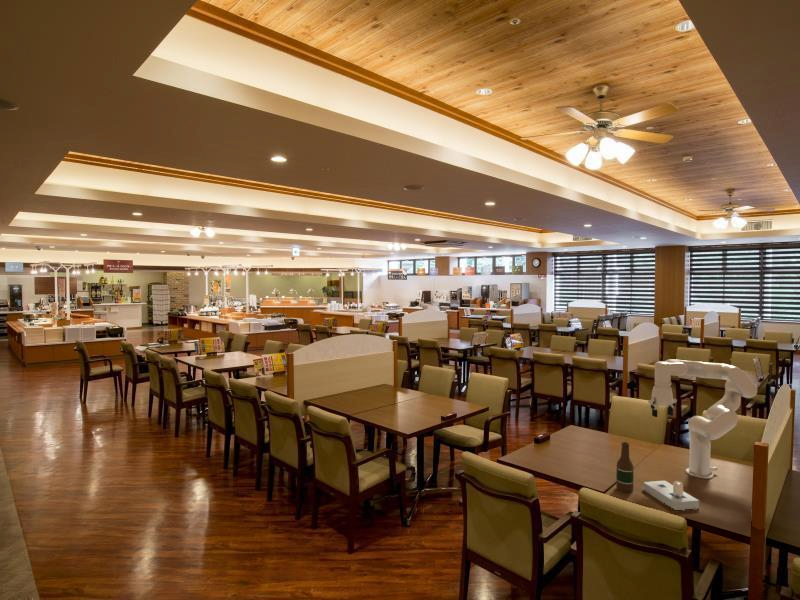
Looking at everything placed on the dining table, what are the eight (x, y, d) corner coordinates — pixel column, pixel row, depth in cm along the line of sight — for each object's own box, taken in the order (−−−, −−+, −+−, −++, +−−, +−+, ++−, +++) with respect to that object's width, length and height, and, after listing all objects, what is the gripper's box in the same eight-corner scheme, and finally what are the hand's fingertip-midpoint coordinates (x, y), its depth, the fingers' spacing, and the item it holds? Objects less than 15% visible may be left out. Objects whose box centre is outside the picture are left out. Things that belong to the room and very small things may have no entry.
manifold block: (664, 488, 236) (664, 480, 236) (698, 508, 215) (699, 500, 214) (643, 489, 234) (643, 482, 234) (675, 511, 213) (675, 502, 213)
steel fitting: (678, 501, 222) (678, 481, 222) (684, 505, 218) (685, 484, 218) (670, 502, 221) (671, 481, 221) (677, 506, 217) (677, 485, 217)
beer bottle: (632, 494, 230) (633, 446, 229) (615, 490, 234) (615, 443, 233) (634, 488, 236) (634, 442, 235) (617, 484, 240) (617, 439, 239)
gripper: (671, 382, 256) (670, 412, 257) (643, 384, 253) (643, 415, 253) (681, 385, 249) (681, 416, 249) (653, 387, 245) (653, 419, 246)
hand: (662, 415), depth 251 cm, fingers open, 9 cm apart
